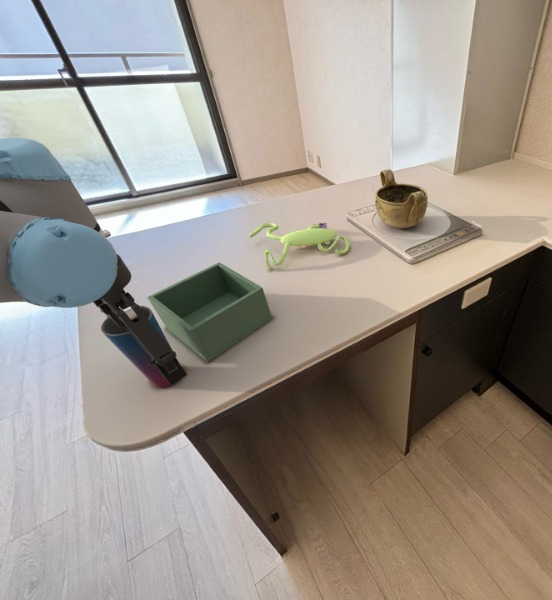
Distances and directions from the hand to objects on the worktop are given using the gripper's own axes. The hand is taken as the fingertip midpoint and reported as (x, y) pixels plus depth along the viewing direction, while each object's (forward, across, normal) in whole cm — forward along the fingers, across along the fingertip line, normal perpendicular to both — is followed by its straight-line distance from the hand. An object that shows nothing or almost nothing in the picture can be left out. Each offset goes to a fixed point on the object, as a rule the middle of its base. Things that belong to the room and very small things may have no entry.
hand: (158, 360), depth 59 cm
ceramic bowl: (+6, 0, -77) cm, 77 cm away
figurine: (+5, +15, -46) cm, 48 cm away
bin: (+5, +5, -14) cm, 15 cm away
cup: (+5, 0, 0) cm, 5 cm away
